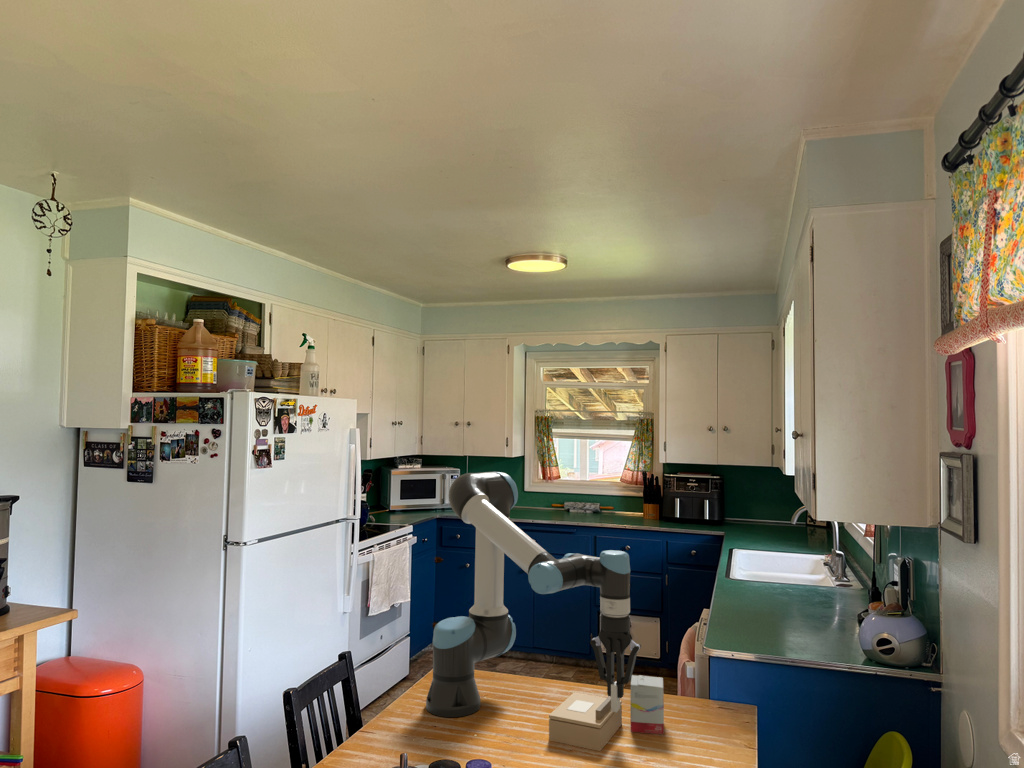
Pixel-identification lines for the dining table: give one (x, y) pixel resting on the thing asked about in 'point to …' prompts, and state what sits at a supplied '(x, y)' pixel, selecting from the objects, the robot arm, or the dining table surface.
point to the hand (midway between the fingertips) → (615, 709)
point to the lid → (584, 710)
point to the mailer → (585, 732)
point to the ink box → (647, 704)
